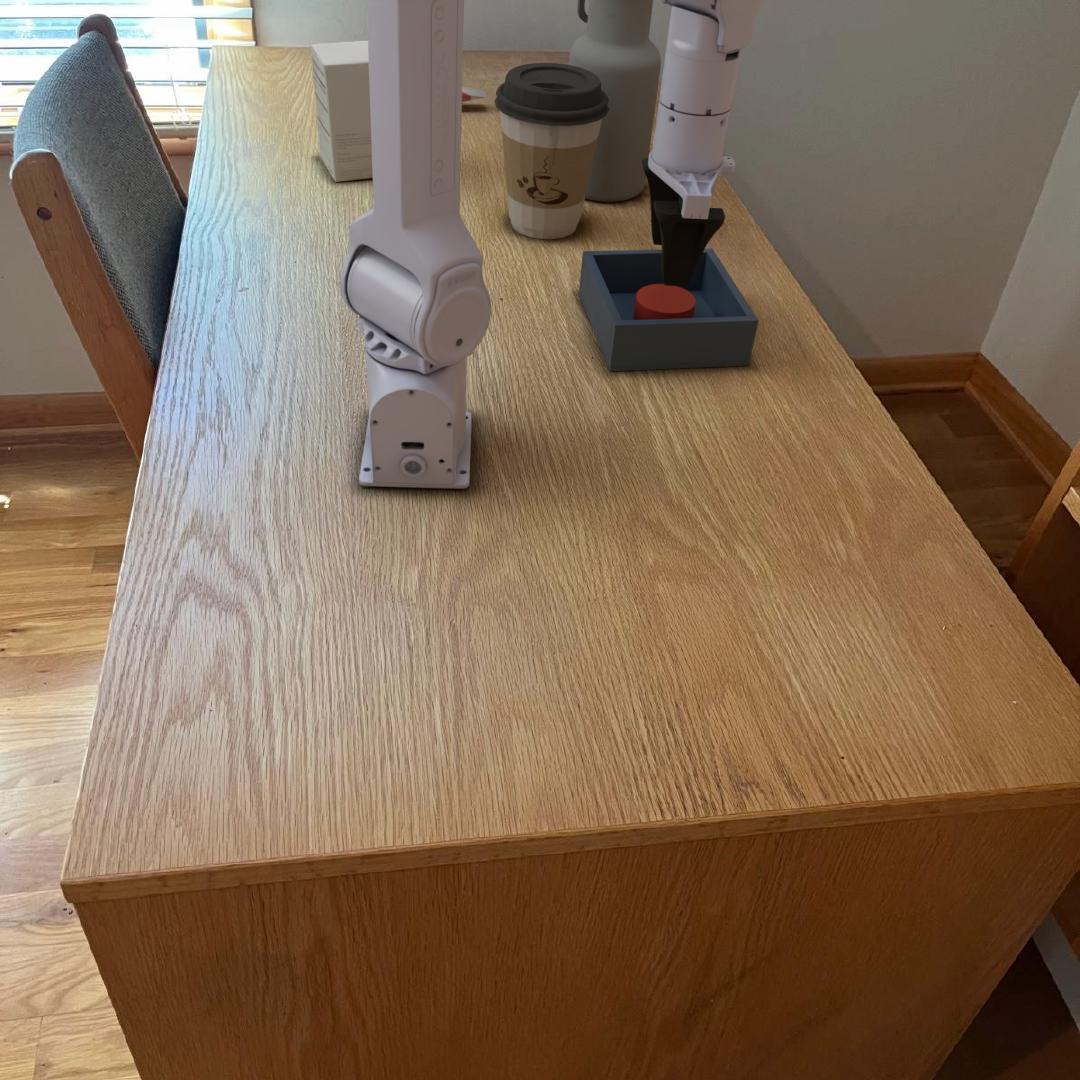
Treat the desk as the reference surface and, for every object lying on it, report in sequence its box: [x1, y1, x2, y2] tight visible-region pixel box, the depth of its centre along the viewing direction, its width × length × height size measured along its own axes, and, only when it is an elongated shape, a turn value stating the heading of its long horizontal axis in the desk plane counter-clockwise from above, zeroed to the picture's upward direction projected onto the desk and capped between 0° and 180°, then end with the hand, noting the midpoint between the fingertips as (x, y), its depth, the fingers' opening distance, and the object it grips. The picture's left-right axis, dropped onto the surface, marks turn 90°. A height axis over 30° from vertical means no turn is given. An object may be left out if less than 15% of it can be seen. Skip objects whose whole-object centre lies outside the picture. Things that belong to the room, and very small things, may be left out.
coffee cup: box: [493, 62, 609, 240], centre depth 104 cm, size 11×11×15 cm
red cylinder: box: [633, 284, 696, 320], centre depth 93 cm, size 5×5×3 cm
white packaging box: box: [309, 39, 373, 183], centre depth 113 cm, size 7×7×13 cm
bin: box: [578, 247, 760, 372], centre depth 93 cm, size 14×13×4 cm
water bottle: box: [568, 0, 662, 203], centre depth 108 cm, size 10×10×28 cm
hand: (669, 263), depth 90 cm, fingers open, 7 cm apart
